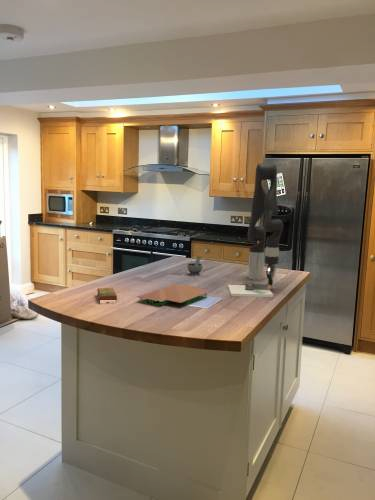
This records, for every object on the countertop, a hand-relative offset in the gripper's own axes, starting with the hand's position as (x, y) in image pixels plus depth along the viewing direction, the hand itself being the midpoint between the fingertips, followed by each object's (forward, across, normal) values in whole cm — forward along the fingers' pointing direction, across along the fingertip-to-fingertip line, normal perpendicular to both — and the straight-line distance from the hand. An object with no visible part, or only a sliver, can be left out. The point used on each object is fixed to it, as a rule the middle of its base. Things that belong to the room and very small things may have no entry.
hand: (270, 285), depth 240 cm
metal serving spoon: (+1, +8, -5) cm, 10 cm away
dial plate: (+3, +10, -9) cm, 14 cm away
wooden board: (+4, +43, -38) cm, 57 cm away
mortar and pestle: (+3, -17, -54) cm, 56 cm away
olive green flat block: (+4, +60, -68) cm, 91 cm away
